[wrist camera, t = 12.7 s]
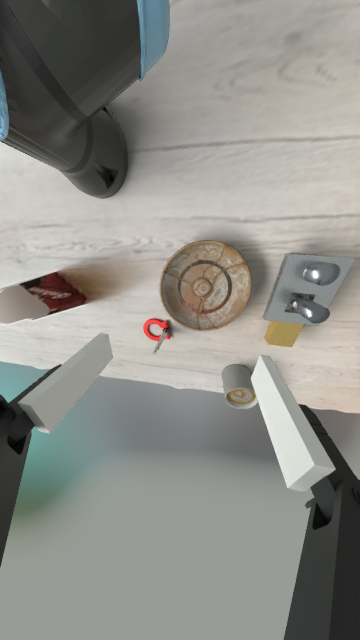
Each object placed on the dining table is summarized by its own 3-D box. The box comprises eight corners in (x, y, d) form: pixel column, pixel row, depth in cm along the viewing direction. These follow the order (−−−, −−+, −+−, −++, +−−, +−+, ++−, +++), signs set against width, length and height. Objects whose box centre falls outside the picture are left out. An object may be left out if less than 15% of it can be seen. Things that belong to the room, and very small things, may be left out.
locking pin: (281, 288, 38) (313, 306, 27) (294, 289, 38) (333, 308, 26) (276, 300, 40) (305, 322, 28) (289, 301, 39) (324, 324, 28)
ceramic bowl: (264, 290, 39) (272, 296, 35) (198, 335, 49) (197, 344, 45) (210, 217, 34) (210, 213, 29) (147, 284, 44) (141, 289, 39)
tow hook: (147, 338, 54) (171, 339, 51) (130, 363, 42) (160, 365, 40) (142, 318, 50) (167, 317, 48) (121, 339, 39) (153, 340, 37)
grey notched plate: (275, 252, 35) (298, 255, 26) (330, 255, 34) (374, 259, 25) (250, 330, 45) (260, 350, 36) (291, 335, 44) (312, 357, 35)
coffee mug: (224, 362, 52) (228, 385, 44) (253, 366, 51) (262, 391, 42) (218, 387, 59) (221, 412, 50) (244, 390, 57) (251, 417, 49)
